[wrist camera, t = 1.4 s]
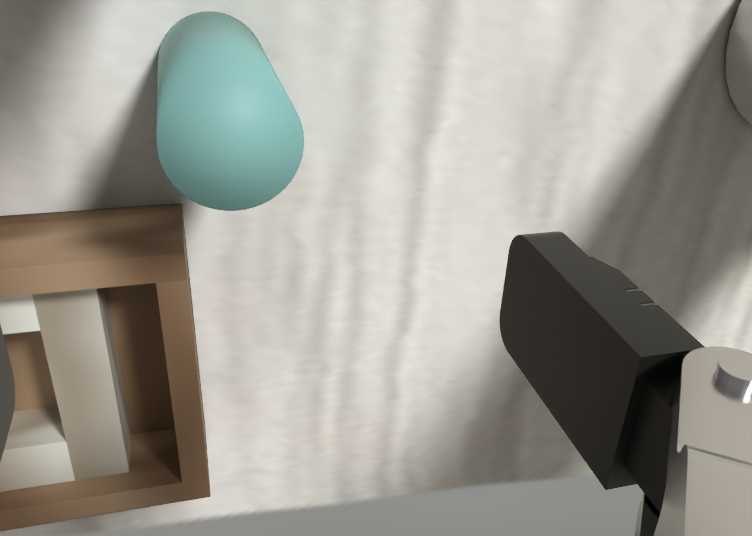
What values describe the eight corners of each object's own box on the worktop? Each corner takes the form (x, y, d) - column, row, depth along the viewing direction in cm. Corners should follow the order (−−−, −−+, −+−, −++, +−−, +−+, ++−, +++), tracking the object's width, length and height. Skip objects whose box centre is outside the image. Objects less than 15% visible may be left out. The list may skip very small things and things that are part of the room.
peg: (263, 11, 24) (302, 69, 17) (267, 115, 26) (304, 205, 19) (151, 11, 23) (147, 73, 16) (163, 120, 25) (164, 215, 18)
